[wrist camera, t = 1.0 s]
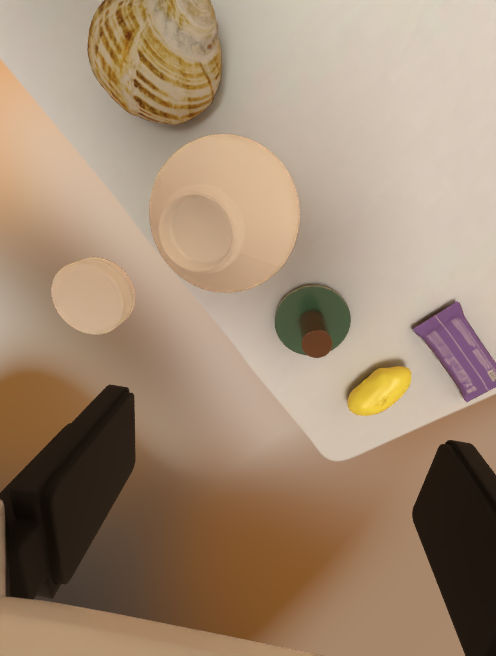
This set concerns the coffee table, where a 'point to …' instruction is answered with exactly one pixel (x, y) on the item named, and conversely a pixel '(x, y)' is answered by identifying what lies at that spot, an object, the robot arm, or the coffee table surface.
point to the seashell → (157, 56)
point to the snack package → (459, 351)
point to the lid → (312, 320)
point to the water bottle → (197, 230)
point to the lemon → (379, 390)
